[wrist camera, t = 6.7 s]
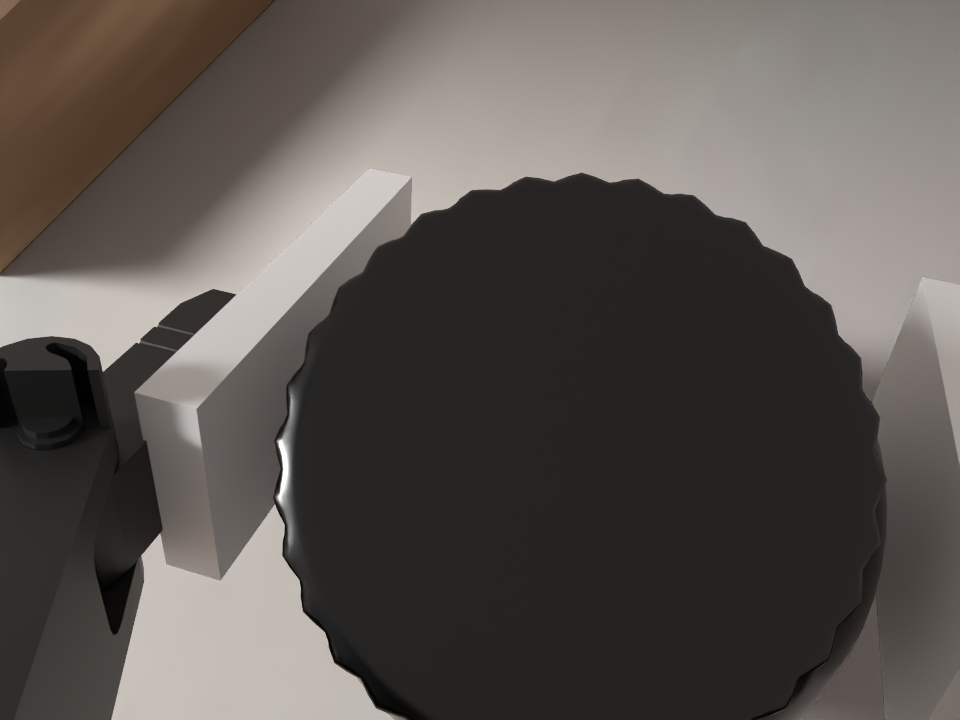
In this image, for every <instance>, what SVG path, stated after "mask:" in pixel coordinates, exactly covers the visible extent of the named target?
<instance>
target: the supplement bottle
mask: <svg viewBox="0 0 960 720" xmlns="http://www.w3.org/2000/svg"><path fill="white" fill-rule="evenodd" d="M286 403H287V416H286V418H285V421H284V423H283V424H282V425H281V427H280V429H279V431H278V433H277V436H276V438H275V440H274V442H275V447H276V453H277V457H278V460H279V464H280V468H281V470H280V473H279V476H278V479H277V482H276V486H275V491H274V495H273V500H274V502H275V505H276V507H277V510H278V512H279V514H280V516H281V518H282V520H283V522H284V524H285V535H284V539H283V555H282V556H283V557H284V559H285V560H286V562H287V564H288V565H289V567H290V568H291V570H292V571H293V572H294V573H295V575H296V576H297V577H298V578H299V580H300V585H301V601H302V608H303V612H304V613H305V614H306V615H307V616H308V617H309V618H310V619H311V620H312V621H313V622H314V623H315V624H316V625H317V626H319V627H320V628H321V629H322V630H323V631H324V632H325V633H326V636H327V639H328V642H329V649H330V652H331V655H332V658H333V660H334V663H335V664H337V665H338V666H339V667H341V668H342V669H344V670H345V671H347V672H349V673H350V674H352V675H354V676H356V677H357V678H358V680H359V681H360V683H361V684H362V685H363V686H364V687H365V689H366V692H367V694H368V695H369V697H370V699H371V700H372V702H373V704H374V706H375V707H376V708H377V709H379V710H381V711H384V712H386V713H388V714H389V715H390V716H391V717H392V718H393V719H394V720H799V719H800V718H801V717H802V716H803V715H804V714H805V713H806V712H807V711H808V710H809V709H810V708H811V707H812V706H813V705H814V704H815V703H816V701H817V700H818V699H819V698H820V696H821V695H822V694H823V693H824V691H825V690H826V689H827V688H828V686H829V685H830V684H831V683H832V681H833V680H834V678H835V677H836V675H837V674H838V672H839V671H840V669H841V667H842V666H843V664H844V663H845V661H846V660H847V658H848V656H849V655H850V653H851V651H852V649H853V647H854V645H855V643H856V641H857V639H858V637H859V635H860V633H861V631H862V629H863V626H864V624H865V621H866V618H867V616H868V613H869V610H870V608H871V605H872V602H873V600H874V596H875V592H876V588H877V584H878V580H879V577H880V573H881V568H882V562H883V555H884V548H885V541H886V524H887V498H886V482H887V478H886V475H885V472H884V467H883V461H882V455H881V449H880V445H879V441H878V437H877V436H878V431H879V423H880V416H879V414H878V413H877V411H876V409H875V407H874V406H873V404H872V403H871V402H870V401H869V399H868V398H867V397H866V395H865V393H864V392H863V390H862V364H861V358H860V357H859V355H858V354H857V353H856V352H855V351H854V350H853V349H852V347H851V346H849V345H848V344H847V343H845V342H844V341H843V339H842V338H841V337H840V336H839V335H838V331H837V326H836V320H835V317H834V313H833V310H832V306H831V305H830V304H829V303H828V302H827V301H825V300H824V299H823V298H821V297H820V296H819V295H817V294H815V293H813V292H811V291H810V290H809V289H808V288H806V287H805V286H804V283H803V281H802V279H801V276H800V274H799V271H798V270H797V268H796V266H795V264H794V262H793V260H792V259H791V258H789V257H787V256H785V255H783V254H781V253H779V252H777V251H774V250H772V249H769V248H767V247H764V246H763V245H762V244H761V242H760V241H759V239H758V238H757V236H756V235H755V233H754V232H753V231H752V230H751V228H750V227H749V226H748V225H747V224H746V222H743V221H739V220H736V219H733V218H724V217H721V216H717V215H715V214H714V213H713V212H712V211H711V210H710V209H709V208H708V207H707V206H706V205H705V204H703V203H702V202H701V201H700V200H699V199H697V198H696V197H695V196H694V195H685V194H673V195H670V194H663V193H661V192H660V191H658V190H657V189H655V188H654V187H652V186H651V185H649V184H647V183H645V182H643V181H641V180H640V179H630V180H622V181H619V182H612V183H608V182H606V181H604V180H601V179H599V178H597V177H594V176H591V175H587V174H584V173H579V174H576V175H572V176H568V177H565V178H563V179H560V180H557V181H555V182H553V181H549V180H544V179H540V178H532V177H524V178H522V179H520V180H518V181H516V182H513V183H512V184H511V185H509V186H508V187H506V188H504V189H502V190H472V191H470V192H469V193H467V194H466V195H465V196H463V197H462V198H460V199H459V201H458V202H457V203H456V204H455V205H453V206H452V207H450V208H448V209H445V210H435V211H431V212H427V213H424V214H421V215H420V216H419V217H418V218H417V220H416V221H415V222H414V223H413V224H412V225H411V226H410V228H409V229H408V230H407V232H406V233H405V234H404V236H402V237H400V238H398V239H396V240H391V241H388V242H386V243H384V244H382V245H380V246H378V247H377V248H376V249H375V251H374V252H373V254H372V256H371V257H370V259H369V261H368V263H367V265H366V267H365V269H364V271H363V272H362V273H360V274H358V275H356V276H355V277H353V278H351V279H349V280H348V281H347V282H345V283H344V284H343V285H341V286H340V287H339V288H338V291H337V293H336V295H335V298H334V300H333V304H332V307H331V310H330V313H329V315H328V316H327V317H326V318H325V319H324V320H323V321H321V322H320V323H318V324H317V325H316V326H315V327H314V328H313V329H312V330H311V331H310V332H309V333H308V337H307V342H306V347H305V356H304V362H303V364H302V365H301V367H300V368H299V369H298V370H297V371H296V372H295V373H294V375H293V376H292V378H291V379H290V381H289V382H288V384H287V385H286Z"/></svg>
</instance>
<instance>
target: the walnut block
mask: <svg viewBox="0 0 960 720" xmlns="http://www.w3.org/2000/svg"><path fill="white" fill-rule="evenodd" d="M273 1H274V0H0V272H1V271H2V270H3V269H4V268H5V267H6V266H7V265H8V264H9V263H10V262H12V261H13V260H14V259H15V258H16V257H17V256H18V255H19V254H20V253H21V252H22V251H23V250H24V249H25V248H26V247H27V246H28V245H29V244H30V243H31V242H32V241H33V240H34V239H35V238H36V237H37V236H38V235H39V234H40V233H41V232H42V231H43V230H44V229H45V228H46V227H47V226H48V225H49V224H50V223H51V222H52V221H53V220H54V219H55V218H56V217H57V216H58V215H59V214H60V213H61V212H62V211H63V210H64V209H65V208H66V207H67V206H68V205H69V204H70V203H71V202H72V201H73V200H74V199H75V198H76V197H77V196H78V195H79V194H80V193H81V192H82V191H83V190H84V189H85V188H86V187H87V186H88V185H89V184H90V183H91V182H92V181H93V180H94V179H95V178H96V177H97V176H98V175H99V174H100V173H101V172H102V171H103V170H104V169H105V168H106V167H107V166H108V165H109V164H110V163H111V162H112V161H113V160H114V159H115V158H116V157H117V156H118V155H119V154H120V153H121V152H122V151H123V150H124V149H125V148H126V147H127V146H128V145H129V144H130V143H131V142H132V141H133V140H134V139H135V138H136V137H137V136H138V135H139V134H140V133H141V132H142V131H143V130H144V129H145V128H146V127H147V126H148V125H149V124H150V123H151V122H152V121H153V120H154V119H155V118H156V117H157V116H158V115H159V114H160V113H161V112H162V111H163V110H164V109H165V108H166V107H167V106H168V105H169V104H170V103H171V102H172V101H173V100H174V99H175V98H176V97H177V96H178V95H179V94H180V93H181V92H182V91H183V90H184V89H185V88H186V87H187V86H188V85H189V84H190V83H191V82H192V81H193V80H194V79H195V78H196V77H197V76H198V75H199V74H200V73H201V72H202V71H203V70H204V69H205V68H206V67H207V66H208V65H209V64H210V63H212V62H213V61H214V60H215V59H216V58H217V57H218V56H219V55H220V54H221V53H222V52H223V51H224V50H225V49H226V48H227V47H228V46H229V45H230V44H231V43H232V42H233V41H234V40H235V39H236V38H237V37H238V36H239V35H240V34H241V33H242V32H243V31H244V30H245V29H246V28H247V27H248V26H249V25H250V24H251V23H252V22H253V21H254V20H255V19H256V18H257V17H258V16H259V15H260V14H261V13H262V12H263V11H264V10H265V9H266V8H267V7H268V6H269V5H270V4H271V3H272V2H273Z"/></svg>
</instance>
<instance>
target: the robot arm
mask: <svg viewBox="0 0 960 720" xmlns="http://www.w3.org/2000/svg"><path fill="white" fill-rule="evenodd" d="M411 192H412V177H410V176H405V175H400V174H395V173H390V172H385V171H380V170H375V169H370V168H369V169H368V170H367V171H366V172H365V173H364V174H363V175H362V176H361V177H359V178H358V179H357V180H356V181H355V182H354V183H353V184H352V185H351V186H350V187H349V188H348V189H347V190H346V191H345V192H344V193H343V194H342V195H341V196H340V197H339V198H337V199H336V200H335V201H334V202H333V203H332V204H331V205H330V206H329V207H328V208H327V209H326V210H325V211H324V212H323V213H322V214H321V215H320V216H319V217H318V218H317V219H315V220H314V221H313V222H312V223H311V224H310V225H309V226H308V227H307V228H306V229H305V230H304V231H303V232H302V233H301V234H300V235H299V236H298V237H297V238H296V239H295V240H293V241H292V242H291V243H290V244H289V245H288V246H287V247H286V248H285V249H284V250H283V251H282V252H281V253H280V254H279V255H278V256H277V257H276V258H275V259H274V260H273V261H271V262H270V263H269V264H268V265H267V266H266V267H265V268H264V269H263V270H262V271H261V272H260V273H259V274H258V275H257V276H256V277H255V278H254V279H253V280H252V281H251V282H249V283H248V284H247V285H246V286H245V287H244V288H243V289H242V290H241V291H240V292H239V293H238V294H237V295H236V294H232V293H228V292H223V291H219V290H215V289H212V290H210V291H208V292H205V293H203V294H201V295H199V296H196V297H194V298H192V299H190V300H187V301H185V302H183V303H181V304H180V305H178V306H177V307H176V308H175V309H174V310H173V311H172V312H171V313H169V314H168V315H167V316H166V317H165V318H164V319H163V320H161V321H160V322H159V325H158V327H154V328H152V329H151V330H150V331H149V332H148V333H147V334H146V335H145V336H143V337H142V338H141V341H140V343H139V344H138V343H135V344H134V345H133V346H132V347H131V348H130V349H129V350H128V351H126V352H125V353H124V354H123V355H122V356H121V357H120V358H119V359H117V360H116V361H115V362H114V363H113V364H112V365H111V366H109V367H108V368H107V369H106V370H105V371H104V372H103V371H102V367H101V362H100V357H99V355H98V354H97V353H96V352H95V351H94V349H93V348H92V347H91V346H90V345H87V344H85V343H83V342H80V341H78V340H76V339H71V338H62V337H53V336H51V337H41V338H32V339H26V340H22V341H19V342H16V343H12V344H9V345H6V346H3V347H1V348H0V720H111V718H112V714H113V709H114V705H115V701H116V697H117V693H118V688H119V684H120V680H121V676H122V672H123V667H124V663H125V659H126V655H127V651H128V646H129V642H130V638H131V634H132V630H133V625H134V621H135V617H136V613H137V609H138V604H139V600H140V596H141V592H142V588H143V583H144V567H143V562H142V558H141V555H142V554H143V553H144V552H145V550H146V549H147V548H148V547H149V546H150V544H151V543H152V542H153V541H154V539H155V538H156V537H157V536H158V535H159V533H161V538H162V543H163V548H164V554H165V559H166V564H168V565H171V566H174V567H178V568H181V569H184V570H187V571H191V572H194V573H197V574H201V575H204V576H207V577H210V578H214V579H217V580H221V579H222V578H223V576H224V575H225V573H226V572H227V571H228V569H229V568H230V566H231V565H232V563H233V562H234V561H235V559H236V558H237V556H238V555H239V554H240V552H241V551H242V549H243V548H244V547H245V545H246V544H247V542H248V541H249V540H250V538H251V537H252V535H253V534H254V533H255V531H256V530H257V528H258V527H259V525H260V524H261V523H262V521H263V520H264V518H265V517H266V516H267V514H268V513H269V511H270V510H271V509H272V507H273V506H274V504H275V502H274V500H273V495H274V491H275V486H276V482H277V479H278V476H279V473H280V470H281V468H280V464H279V460H278V457H277V453H276V447H275V442H274V440H275V438H276V436H277V433H278V431H279V429H280V427H281V425H282V424H283V423H284V421H285V418H286V416H287V403H286V385H287V384H288V382H289V381H290V379H291V378H292V376H293V375H294V373H295V372H296V371H297V370H298V369H299V368H300V367H301V365H302V364H303V362H304V356H305V347H306V342H307V337H308V333H309V332H310V331H311V330H312V329H313V328H314V327H315V326H316V325H317V324H318V323H320V322H321V321H323V320H324V319H325V318H326V317H327V316H328V315H329V313H330V310H331V307H332V304H333V300H334V298H335V295H336V293H337V291H338V288H339V287H340V286H341V285H343V284H344V283H345V282H347V281H348V280H349V279H351V278H353V277H355V276H356V275H358V274H360V273H362V272H363V271H364V269H365V267H366V265H367V263H368V261H369V259H370V257H371V256H372V254H373V252H374V251H375V249H376V248H377V247H378V246H380V245H382V244H384V243H386V242H388V241H391V240H396V239H398V238H400V237H402V236H404V234H405V233H406V232H407V230H408V229H409V228H410V226H411ZM872 404H873V406H874V407H875V409H876V411H877V413H878V414H879V416H880V423H879V431H878V436H877V437H878V441H879V445H880V449H881V455H882V461H883V467H884V472H885V475H886V478H887V482H886V498H887V524H886V541H885V548H884V555H883V562H882V568H881V573H880V577H879V580H878V584H877V588H876V601H877V615H878V629H879V643H880V658H881V672H882V686H883V701H884V715H885V720H960V284H955V283H950V282H945V281H939V280H934V279H929V278H924V277H922V279H921V282H920V284H919V287H918V289H917V292H916V294H915V297H914V299H913V302H912V304H911V306H910V309H909V311H908V314H907V316H906V319H905V321H904V324H903V326H902V329H901V331H900V334H899V336H898V338H897V341H896V343H895V346H894V348H893V351H892V353H891V356H890V358H889V361H888V363H887V366H886V368H885V371H884V373H883V375H882V378H881V380H880V383H879V385H878V388H877V390H876V393H875V395H874V398H873V400H872Z"/></svg>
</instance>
